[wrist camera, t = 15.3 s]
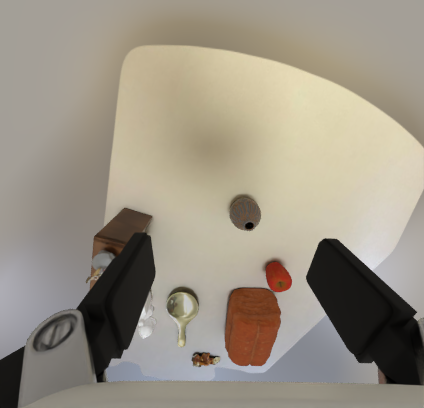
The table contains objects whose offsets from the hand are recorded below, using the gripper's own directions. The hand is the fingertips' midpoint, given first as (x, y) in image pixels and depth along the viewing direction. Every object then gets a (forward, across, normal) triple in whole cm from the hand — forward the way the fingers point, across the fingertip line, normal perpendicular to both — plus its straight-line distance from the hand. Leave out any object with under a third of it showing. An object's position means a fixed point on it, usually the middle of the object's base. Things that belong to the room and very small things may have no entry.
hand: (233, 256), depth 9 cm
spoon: (+30, +10, +58) cm, 66 cm away
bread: (+30, -14, +53) cm, 63 cm away
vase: (+30, -7, +12) cm, 33 cm away
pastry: (+30, 0, +84) cm, 89 cm away
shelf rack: (+30, +22, +23) cm, 43 cm away
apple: (+30, -18, +30) cm, 46 cm away
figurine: (+18, +20, +18) cm, 33 cm away
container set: (+30, +22, +52) cm, 64 cm away
